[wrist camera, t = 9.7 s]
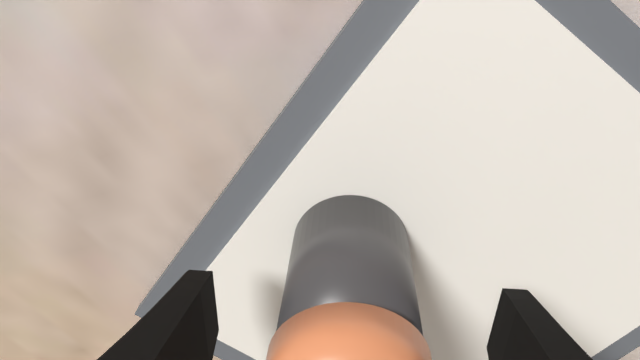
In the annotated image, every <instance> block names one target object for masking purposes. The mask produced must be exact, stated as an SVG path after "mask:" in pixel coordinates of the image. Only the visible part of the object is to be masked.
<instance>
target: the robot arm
mask: <svg viewBox="0 0 640 360" xmlns="http://www.w3.org/2000/svg"><path fill="white" fill-rule="evenodd" d="M218 332H219V326H218V316H217V307H216V298H215V289H214V279H213V271H203V270H188V271H187V272H185V273H184V274H183V276H182V277H181V278H180V279H179V280H178V281H177V282H176V283H175V284H174V285H173V286H172V287H171V288H170V289H169V291H168V292H167V293H166V294H165V295H164V296H163V297H162V298H161V299H160V300H159V301H158V302H157V303H156V304H155V305H154V306H153V307H152V308H151V309H150V310H149V311H148V312H147V313H146V314H145V315H144V316H143V317H142V318H141V319H140V320H139V321H138V322H137V323H136V324H135V325H134V326H133V327H132V328H131V329H130V330H129V331H128V332H127V333H126V334H125V335H124V336H123V337H122V338H120V339H119V340H118V341H117V342H116V343H115V344H114V345H113V346H112V347H111V348H109V349H108V350H107V351H106V352H105V353H104V354H103V355H102V356H101V357H99V358H98V359H97V360H212V358H213V354H214V350H215V345H216V341H217V336H218ZM487 353H488V359H489V360H593V359H592V358H591V357H590V356H589V355H588V354H587V353H586V352H585V351H584V350H583V349H582V348H581V347H580V346H579V345H578V344H577V343H576V342H575V341H574V339H573V338H572V337H571V336H570V335H569V334H568V333H567V332H566V331H565V330H564V329H563V328H562V327H561V326H560V324H559V323H558V322H557V321H556V320H555V319H554V318H553V317H552V316H551V315H550V314H549V312H548V311H547V310H546V309H545V308H544V307H543V306H542V305H541V304H540V302H539V301H538V300H537V299H536V298H535V297H534V296H533V295H532V294H531V293H530V292H529V291H528V290H524V289H507V288H502V291H501V295H500V299H499V303H498V306H497V310H496V314H495V317H494V321H493V325H492V329H491V332H490V336H489V340H488V343H487Z"/></svg>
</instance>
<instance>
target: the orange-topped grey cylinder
mask: <svg viewBox="0 0 640 360" xmlns="http://www.w3.org/2000/svg"><path fill="white" fill-rule="evenodd" d="M266 360H432V358H431V352H430V349H429V346H428V344H427V342H426V340H425V338H424V337H423V331H422V325H421V318H420V312H419V306H418V299H417V293H416V287H415V280H414V274H413V267H412V261H411V255H410V248H409V242H408V236H407V231H406V228H405V226H404V224H403V222H402V220H401V219H400V218H399V216H398V215H397V214H396V213H395V212H394V211H393V210H392V209H391V208H389V207H388V206H386V205H385V204H383V203H382V202H379V201H377V200H375V199H372V198H369V197H365V196H359V195H341V196H335V197H332V198H328V199H325V200H323V201H321V202H319V203H317V204H315V205H314V206H313V207H311V208H310V209H309V210H308V211H307V212H306V213H305V214H304V215H303V216H302V217H301V219H300V220H299V222H298V224H297V226H296V229H295V233H294V238H293V243H292V249H291V254H290V259H289V265H288V270H287V276H286V281H285V286H284V292H283V297H282V302H281V308H280V313H279V318H278V324H277V329H276V332H275V334H274V335H273V337H272V339H271V341H270V344H269V347H268V352H267V357H266Z"/></svg>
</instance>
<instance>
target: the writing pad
mask: <svg viewBox="0 0 640 360" xmlns="http://www.w3.org/2000/svg"><path fill="white" fill-rule="evenodd" d="M341 195H359V196H365V197H369V198H372V199H375V200H377V201H379V202H382V203H383V204H385V205H386V206H388V207H389V208H391V209H392V210H393V211H394V212H395V213H396V214H397V215H398V216H399V218H400V219H401V220H402V222H403V224H404V226H405V228H406V231H407V236H408V242H409V248H410V255H411V261H412V267H413V274H414V280H415V287H416V293H417V299H418V306H419V312H420V318H421V325H422V331H423V337H424V338H425V340H426V342H427V344H428V346H429V349H430V352H431V358H432V360H489V359H488V353H487V343H488V340H489V336H490V332H491V329H492V325H493V321H494V317H495V314H496V310H497V306H498V303H499V299H500V295H501V291H502V288H507V289H524V290H528V291H529V292H530V293H531V294H532V295H533V296H534V297H535V298H536V299H537V300H538V301H539V302H540V304H541V305H542V306H543V307H544V308H545V309H546V310H547V311H548V312H549V314H550V315H551V316H552V317H553V318H554V319H555V320H556V321H557V322H558V323H559V324H560V326H561V327H562V328H563V329H564V330H565V331H566V332H567V333H568V334H569V335H570V336H571V337H572V338H573V339H574V341H575V342H576V343H577V344H578V345H579V346H580V347H581V348H582V349H583V350H584V351H585V352H586V353H587V354H588V355H589V356H590V357H591V358H592V359H593V360H618V359H620V358H622V357H623V356H625V355H626V354H628V353H630V352H631V351H633V350H634V349H636V348H637V347H639V346H640V28H639V27H638V26H637V25H636V24H635V23H634V22H633V21H632V20H630V19H629V18H628V17H627V16H626V15H625V14H624V13H623V12H622V11H621V10H620V9H619V8H618V7H617V6H616V5H614V4H613V3H612V2H611V1H610V0H363V1H362V3H361V4H360V5H359V7H358V8H357V9H356V11H355V12H354V14H353V15H352V16H351V18H350V19H349V20H348V22H347V23H346V24H345V26H344V27H343V29H342V30H341V31H340V33H339V34H338V35H337V37H336V38H335V39H334V41H333V42H332V44H331V45H330V46H329V48H328V49H327V50H326V52H325V53H324V54H323V56H322V57H321V59H320V60H319V61H318V63H317V64H316V65H315V67H314V68H313V69H312V71H311V72H310V74H309V75H308V76H307V78H306V79H305V80H304V82H303V83H302V84H301V86H300V87H299V89H298V90H297V91H296V93H295V94H294V95H293V97H292V98H291V99H290V101H289V102H288V104H287V105H286V106H285V108H284V109H283V110H282V112H281V113H280V114H279V116H278V117H277V119H276V120H275V121H274V123H273V124H272V125H271V127H270V128H269V129H268V131H267V132H266V134H265V135H264V136H263V138H262V139H261V140H260V142H259V143H258V144H257V146H256V147H255V149H254V150H253V151H252V153H251V154H250V155H249V157H248V158H247V159H246V161H245V162H244V164H243V165H242V166H241V168H240V169H239V170H238V172H237V173H236V174H235V176H234V177H233V179H232V180H231V181H230V183H229V184H228V185H227V187H226V188H225V189H224V191H223V192H222V194H221V195H220V196H219V198H218V199H217V200H216V202H215V203H214V204H213V206H212V207H211V209H210V210H209V211H208V213H207V214H206V215H205V217H204V218H203V219H202V221H201V222H200V224H199V225H198V226H197V228H196V229H195V230H194V232H193V233H192V234H191V236H190V237H189V239H188V240H187V241H186V243H185V244H184V245H183V247H182V248H181V249H180V251H179V252H178V254H177V255H176V256H175V258H174V259H173V260H172V262H171V263H170V264H169V266H168V267H167V269H166V270H165V271H164V273H163V274H162V275H161V277H160V278H159V279H158V281H157V282H156V284H155V285H154V286H153V288H152V289H151V290H150V292H149V293H148V294H147V296H146V297H145V299H144V300H143V301H142V303H141V304H140V305H139V307H138V309H137V311H136V313H135V315H137V316H139V317H141V318H142V317H143V316H144V315H145V314H146V313H147V312H148V311H149V310H150V309H151V308H152V307H153V306H154V305H155V304H156V303H157V302H158V301H159V300H160V299H161V298H162V297H163V296H164V295H165V294H166V293H167V292H168V291H169V289H170V288H171V287H172V286H173V285H174V284H175V283H176V282H177V281H178V280H179V279H180V278H181V277H182V276H183V274H184V273H185V272H187V271H188V270H203V271H213V279H214V289H215V298H216V307H217V316H218V326H219V332H218V336H217V341H216V345H215V350H214V354H213V355H214V356H216V357H218V358H220V359H222V360H266V357H267V352H268V347H269V344H270V341H271V339H272V337H273V335H274V334H275V332H276V329H277V324H278V318H279V313H280V308H281V302H282V297H283V292H284V286H285V281H286V276H287V270H288V265H289V259H290V254H291V249H292V243H293V238H294V233H295V229H296V226H297V224H298V222H299V220H300V219H301V217H302V216H303V215H304V214H305V213H306V212H307V211H308V210H309V209H310V208H311V207H313V206H314V205H315V204H317V203H319V202H321V201H323V200H325V199H328V198H332V197H335V196H341Z"/></svg>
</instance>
